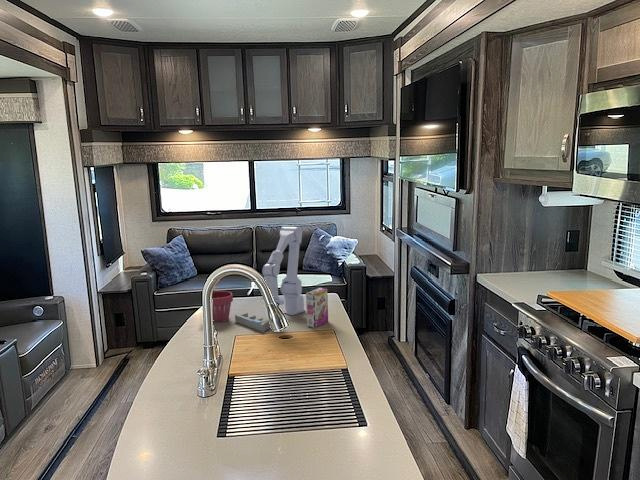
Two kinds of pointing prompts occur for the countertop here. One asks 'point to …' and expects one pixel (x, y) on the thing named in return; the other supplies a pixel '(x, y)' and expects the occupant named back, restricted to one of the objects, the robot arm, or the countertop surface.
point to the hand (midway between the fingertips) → (273, 316)
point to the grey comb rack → (252, 322)
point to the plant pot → (221, 305)
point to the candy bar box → (317, 307)
